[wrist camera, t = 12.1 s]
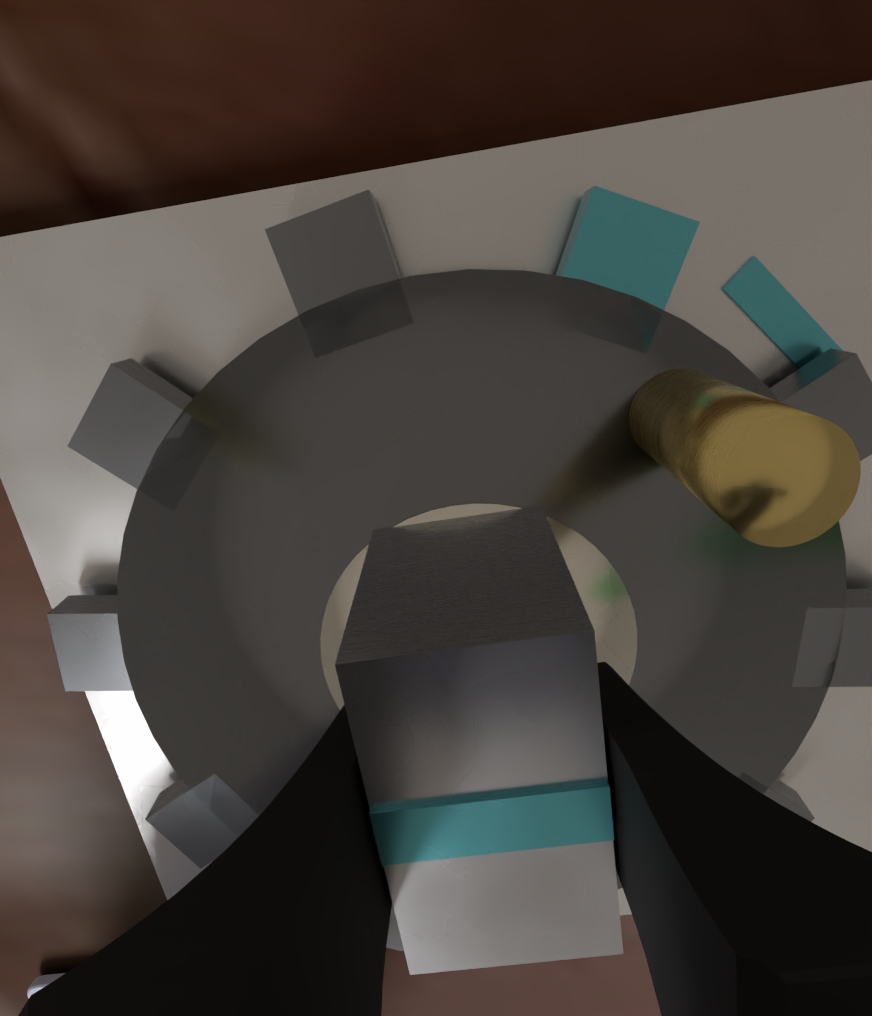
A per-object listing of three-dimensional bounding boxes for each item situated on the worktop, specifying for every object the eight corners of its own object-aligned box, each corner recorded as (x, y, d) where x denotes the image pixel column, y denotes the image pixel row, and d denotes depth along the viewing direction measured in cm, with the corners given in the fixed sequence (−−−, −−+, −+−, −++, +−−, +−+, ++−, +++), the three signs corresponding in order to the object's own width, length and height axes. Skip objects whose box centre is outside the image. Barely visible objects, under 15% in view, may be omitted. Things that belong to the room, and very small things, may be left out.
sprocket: (1069, 548, 15) (1405, 694, 9) (546, 1012, 20) (581, 1267, 15) (350, -52, 11) (271, -327, 6) (-54, 703, 16) (-279, 896, 11)
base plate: (857, 858, 19) (880, 891, 18) (202, 928, 21) (189, 962, 20) (911, 81, 13) (953, 64, 12) (-53, 254, 14) (-92, 252, 13)
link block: (568, 745, 15) (625, 960, 10) (420, 762, 16) (409, 981, 11) (541, 506, 13) (596, 634, 9) (372, 529, 14) (333, 668, 9)
